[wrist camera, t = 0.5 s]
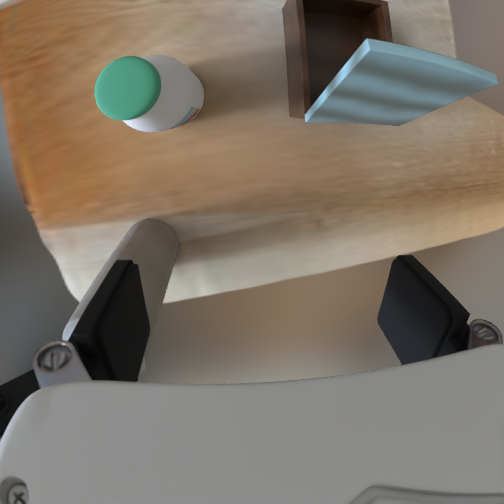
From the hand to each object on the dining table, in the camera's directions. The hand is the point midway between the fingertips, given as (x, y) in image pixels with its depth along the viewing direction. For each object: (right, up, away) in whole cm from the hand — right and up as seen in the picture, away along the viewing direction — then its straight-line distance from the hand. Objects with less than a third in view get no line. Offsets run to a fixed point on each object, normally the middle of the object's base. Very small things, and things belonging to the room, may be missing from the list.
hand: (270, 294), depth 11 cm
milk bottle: (-10, +21, +24) cm, 33 cm away
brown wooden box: (+9, +26, +22) cm, 36 cm away
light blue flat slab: (+11, +15, +10) cm, 21 cm away
